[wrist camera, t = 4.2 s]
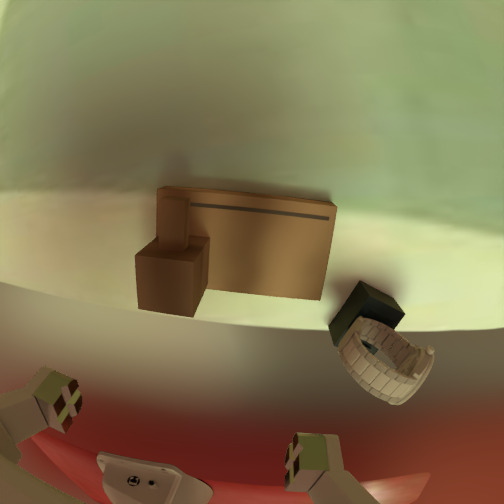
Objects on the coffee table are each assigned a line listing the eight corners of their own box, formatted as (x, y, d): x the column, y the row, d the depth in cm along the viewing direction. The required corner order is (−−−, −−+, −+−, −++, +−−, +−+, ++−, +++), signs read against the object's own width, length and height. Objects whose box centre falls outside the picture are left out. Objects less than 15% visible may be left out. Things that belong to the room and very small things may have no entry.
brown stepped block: (162, 277, 25) (138, 308, 20) (163, 190, 23) (134, 202, 17) (207, 283, 25) (193, 317, 20) (212, 193, 23) (196, 206, 17)
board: (164, 273, 27) (157, 282, 25) (165, 186, 24) (157, 189, 23) (316, 290, 27) (320, 300, 25) (332, 202, 24) (337, 207, 22)
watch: (375, 347, 29) (410, 423, 18) (313, 319, 28) (331, 404, 17) (407, 304, 27) (458, 373, 17) (345, 271, 26) (384, 343, 16)
